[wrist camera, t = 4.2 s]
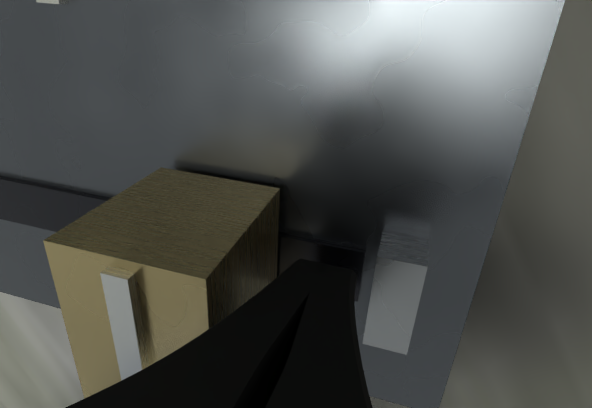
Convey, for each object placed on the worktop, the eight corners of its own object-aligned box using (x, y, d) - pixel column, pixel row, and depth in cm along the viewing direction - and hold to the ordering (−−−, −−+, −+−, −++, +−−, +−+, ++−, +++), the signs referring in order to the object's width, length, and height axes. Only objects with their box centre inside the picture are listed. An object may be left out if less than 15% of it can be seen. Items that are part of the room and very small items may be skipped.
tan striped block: (274, 324, 11) (210, 455, 8) (174, 298, 12) (78, 410, 9) (280, 188, 9) (198, 287, 6) (161, 167, 10) (33, 246, 7)
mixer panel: (436, 371, 13) (436, 449, 10) (-69, 240, 17) (-141, 275, 15) (697, -532, 5) (879, -899, 3) (-301, -334, 10) (-506, -426, 8)
